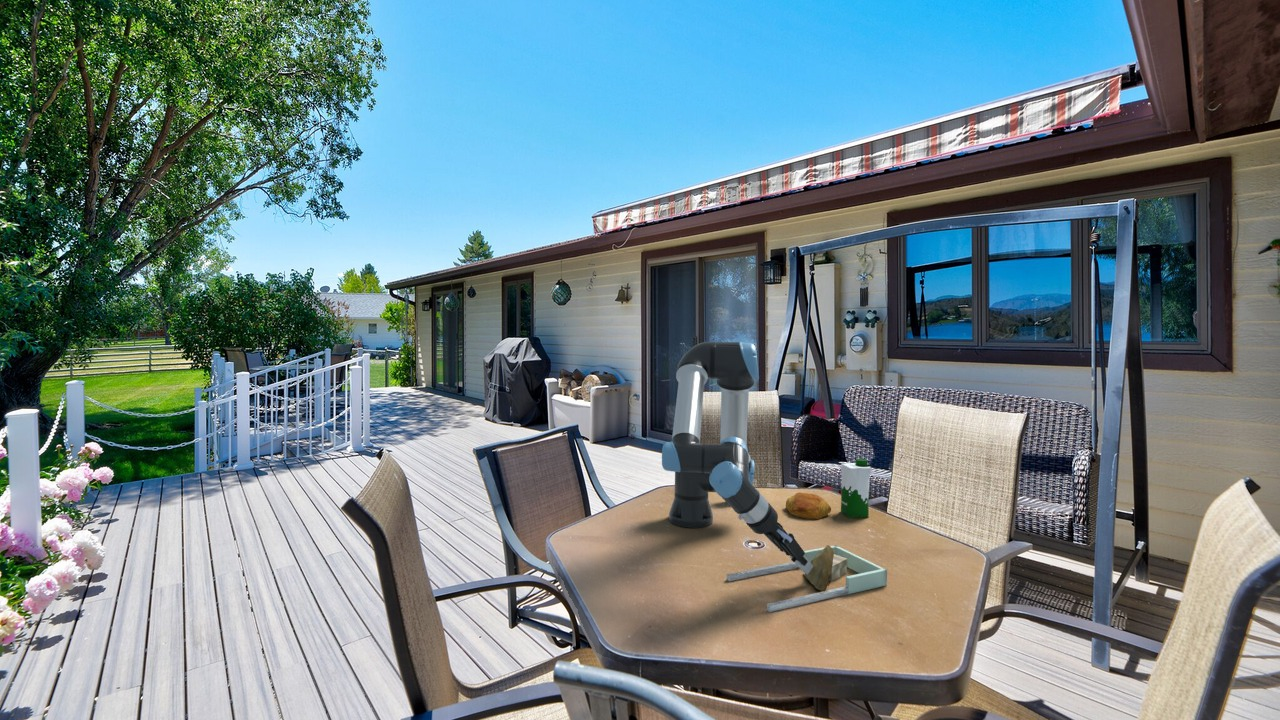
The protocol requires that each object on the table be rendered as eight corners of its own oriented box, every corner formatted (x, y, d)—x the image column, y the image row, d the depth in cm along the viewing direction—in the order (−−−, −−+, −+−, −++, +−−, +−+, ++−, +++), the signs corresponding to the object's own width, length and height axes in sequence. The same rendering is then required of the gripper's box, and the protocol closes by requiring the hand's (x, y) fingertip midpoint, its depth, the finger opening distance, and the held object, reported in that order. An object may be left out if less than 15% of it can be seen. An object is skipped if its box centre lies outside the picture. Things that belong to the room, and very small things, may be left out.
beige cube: (839, 577, 145) (839, 562, 145) (825, 572, 148) (826, 557, 148) (846, 573, 147) (847, 558, 147) (833, 568, 150) (833, 554, 150)
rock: (836, 589, 133) (846, 573, 141) (820, 557, 135) (831, 543, 143) (800, 598, 139) (811, 582, 147) (784, 567, 140) (796, 553, 148)
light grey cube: (831, 581, 142) (832, 566, 142) (817, 576, 145) (818, 561, 145) (839, 577, 145) (840, 562, 145) (825, 572, 148) (826, 557, 148)
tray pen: (848, 594, 135) (848, 578, 135) (799, 565, 152) (800, 551, 151) (886, 585, 140) (887, 570, 140) (835, 559, 157) (835, 545, 157)
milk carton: (872, 518, 194) (874, 462, 193) (847, 518, 193) (849, 462, 192) (860, 510, 203) (862, 457, 202) (836, 510, 202) (838, 457, 201)
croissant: (793, 510, 209) (791, 489, 209) (835, 513, 199) (833, 490, 200) (779, 519, 197) (776, 496, 197) (822, 522, 188) (820, 498, 188)
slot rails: (769, 612, 125) (769, 605, 125) (726, 580, 142) (726, 574, 142) (848, 594, 135) (848, 588, 135) (799, 565, 152) (799, 560, 152)
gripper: (732, 516, 139) (783, 570, 146) (764, 533, 127) (818, 591, 134) (750, 493, 141) (799, 548, 148) (783, 508, 129) (835, 567, 136)
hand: (808, 569), depth 141 cm, fingers closed
